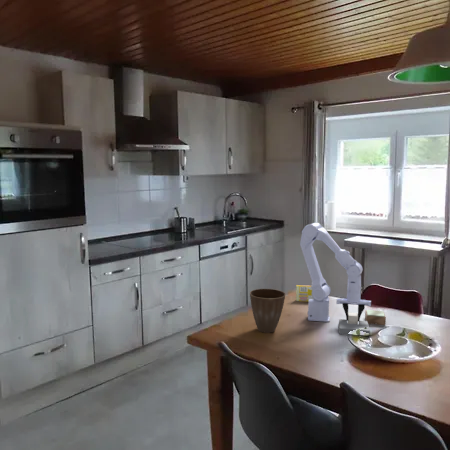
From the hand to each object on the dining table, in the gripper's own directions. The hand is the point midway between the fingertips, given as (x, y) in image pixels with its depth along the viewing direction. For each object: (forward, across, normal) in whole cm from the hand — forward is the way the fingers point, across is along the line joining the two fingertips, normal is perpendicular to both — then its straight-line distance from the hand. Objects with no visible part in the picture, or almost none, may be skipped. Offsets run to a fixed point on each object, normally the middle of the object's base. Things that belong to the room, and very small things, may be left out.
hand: (352, 320), depth 199 cm
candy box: (+2, -19, +32) cm, 37 cm away
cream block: (+2, 0, 0) cm, 2 cm away
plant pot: (+2, -36, -16) cm, 40 cm away
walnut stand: (+2, +10, +6) cm, 12 cm away
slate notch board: (+2, 0, -8) cm, 8 cm away
